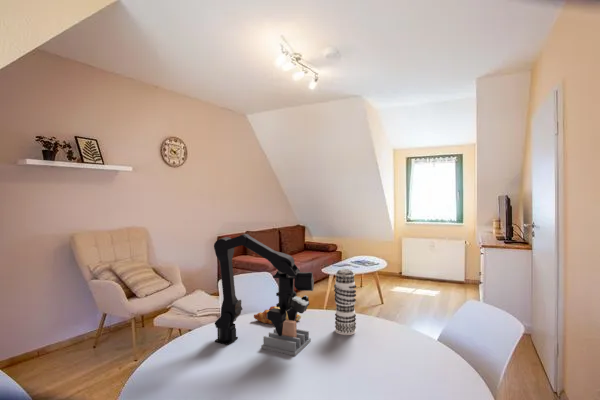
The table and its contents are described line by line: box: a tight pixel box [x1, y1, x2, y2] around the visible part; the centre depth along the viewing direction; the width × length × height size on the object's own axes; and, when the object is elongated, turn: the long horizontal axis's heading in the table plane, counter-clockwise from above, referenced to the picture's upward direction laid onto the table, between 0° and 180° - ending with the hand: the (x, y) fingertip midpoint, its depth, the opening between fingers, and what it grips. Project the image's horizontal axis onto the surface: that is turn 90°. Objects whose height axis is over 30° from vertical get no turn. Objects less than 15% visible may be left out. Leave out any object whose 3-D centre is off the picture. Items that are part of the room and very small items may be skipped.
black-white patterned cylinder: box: [333, 268, 357, 336], centre depth 135 cm, size 9×9×25 cm
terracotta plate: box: [282, 320, 298, 338], centre depth 122 cm, size 7×2×8 cm, turn 64°
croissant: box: [253, 305, 302, 325], centre depth 146 cm, size 21×10×8 cm, turn 92°
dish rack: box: [260, 328, 312, 357], centre depth 122 cm, size 14×13×4 cm
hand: (286, 331), depth 122 cm, fingers open, 9 cm apart
